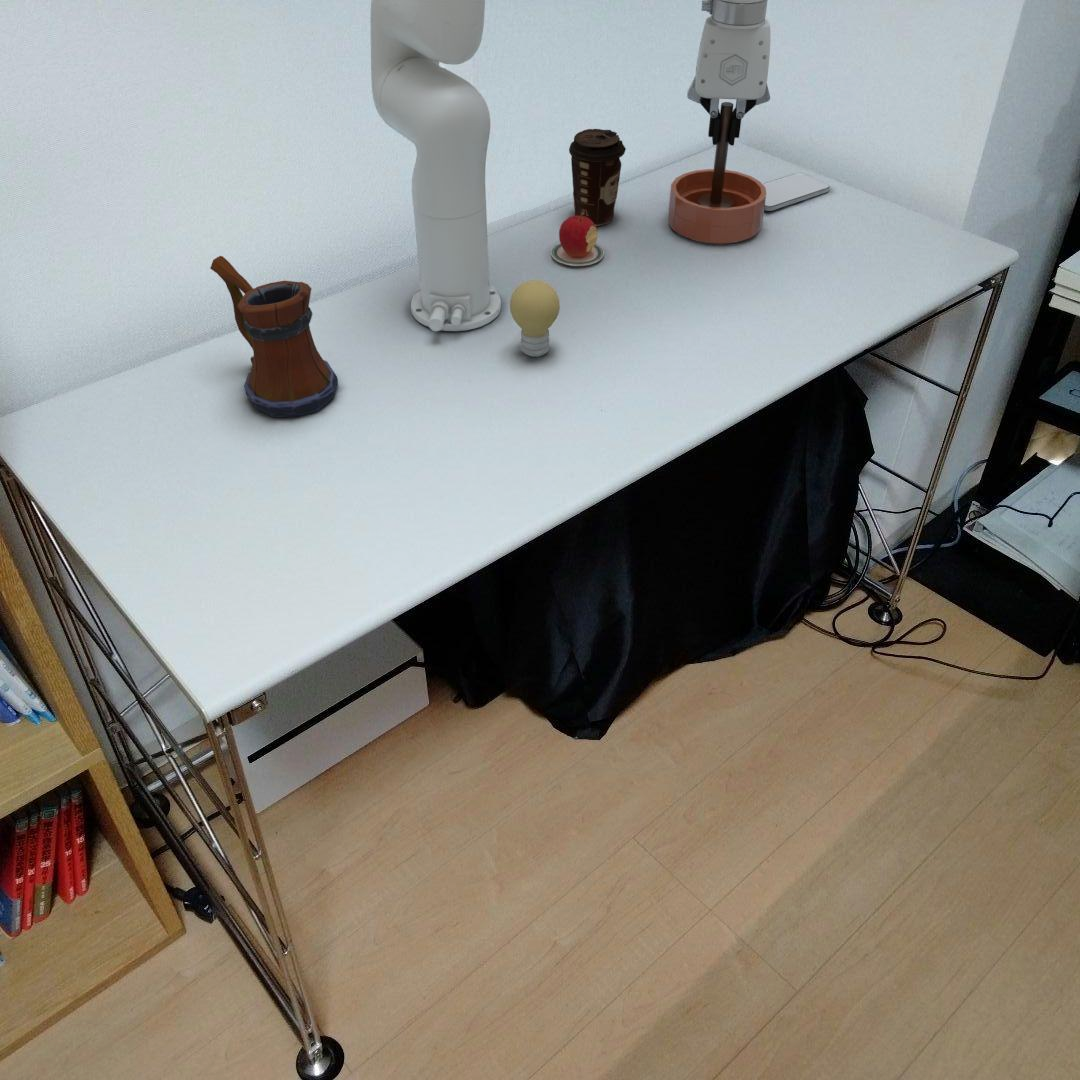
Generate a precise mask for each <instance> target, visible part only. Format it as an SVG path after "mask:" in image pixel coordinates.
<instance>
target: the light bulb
mask: <svg viewBox="0 0 1080 1080" xmlns="http://www.w3.org/2000/svg"><path fill="white" fill-rule="evenodd" d="M510 296H511V297H510V300H509V310H510V314H511V317H512V319H513V320H514V322H515V323H516V325H518V327H519V328H520V350H521V351H522V353H523V354H524V355H527V356H528V357H533V358H537V357H541V356H544V355H545V354H547V353H548V351H549V350H550V329H549V328H551V326H553V324H554V323H555V322H556V320H557V318H558V316H559V313H560V310H561V309H560V308H561V303H560V298H559V294H558V293H557V291H556V290H555V289H554V287H553V286H552V285H550V283H548V282H546V281H543V280H539V279H537V280H536V279H533V280H526V281H525V282H521V283H520V284H518V285H517V286H516V287H515V288H514V290H513V292H512V293H511V295H510Z"/></svg>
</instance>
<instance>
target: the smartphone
mask: <svg viewBox="0 0 1080 1080" xmlns="http://www.w3.org/2000/svg"><path fill="white" fill-rule="evenodd" d="M762 184H763V185H764V186H765V188H766V201H765V207H764V211H768V212H772V211H775V210H778V209H781V208H784V207H787V206H791V205H793V204H796V203H800V202H802V201H805V200H808V199H810V198H814V197H817V196H820V195H823V194H826V193H828V192H829V191H830V185H829V184H828V183H825V182H823V181H821V180H819V179H817V178H814V177H812V176H811V175H810V176H809V175H808V174H806V173H802V172H796V173H793V174H789V175H787V176H783V177H779V178H777V179H774V180H771V181H767V182H764V183H762Z"/></svg>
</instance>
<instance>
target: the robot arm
mask: <svg viewBox="0 0 1080 1080" xmlns="http://www.w3.org/2000/svg"><path fill="white" fill-rule="evenodd" d="M768 1H769V0H701V12H706V13H709V15H710V16H708V17H706V19H705V22H704V25H703V29H702V33H701V38H700V43H699V47H698V53H697V60H696V66H695V75H694V78H693V80H692V81H691V84H690V86H689V88H688V90H687V91H686V97H687V100H690V101H691V102H692V101H693V102H695V103H696V104H700V105H701V106H702V108H703V109H704V110H705V111H706V113H708V115H709V124H708V131H707V132H708V133H707V134H708V135H707V137H708V138H711V140H712V146H716V144H718V137H719V129H720V120H721V118H720V106H719V105H720V100H735V106H734V108H733V113H732V120H731V128H730V136H729V145H730V146H732V147H733V146H735V140H736V139H739V138H740V135H741V126H742V119H743V118H744V117H745V115H747V114H748V113H749V112H750V111H751V110H752V109H753V108H755V107H756V106H759V105H762V104H765V103H768V102H769V101H770V100H771V95H770V90H769V86H768V75H769V67H770V57H771V56H770V55H771V54H770V53H771V22H770V21H769V20H768V19H767V18H766V14H767V8H768ZM485 7H486V0H371V2H370V74H371V76H370V77H371V80H370V81H371V92H372V93H371V94H372V99H373V104H374V107H375V109H376V112H377V114H378V116H379V117H380V119H381V120H382V121H383V122H384V123H385V124H386V125H387V126H388V127H390V128H391V129H392V130H393V131H395V132H397V133H398V134H399V135H401V136H403V137H404V138H406V140H408V141H409V142H411V143H412V144H413V145H414V146H415V151H416V158H415V163H414V167H413V170H412V176H411V197H412V198H411V199H412V207H413V218H414V220H413V221H414V230H415V241H416V252H417V263H418V274H419V276H418V277H419V287H420V289H419V290H418V291H417V292H416V293H415V294H413V296H412V298H411V300H410V311H411V314H412V316H413V318H414V319H415V320H416V321H417V322H418V323H419V324H421V325H423V326H425V327H427V328H429V329H430V330H432V331H433V332H440V331H444V332H464V331H470V330H475V329H478V328H481V327H483V326H485V325H487V324H489V323H491V322H492V321H494V320H495V319H496V318H497V317H498V316H499V315H500V313H501V309H502V299H501V295H500V294H499V292H498V291H497V290H496V289H495V288H493V287H491V286H490V270H489V245H488V244H489V242H488V241H489V240H488V239H489V238H488V218H487V217H488V215H487V193H486V192H487V191H486V167H487V155H488V154H487V153H488V146H489V142H490V135H491V115H490V110H489V107H488V104H487V102H486V100H485V98H484V97H483V95H482V94H481V93H480V91H479V90H478V89H477V88H476V87H475V86H474V85H473V84H472V83H470V82H469V81H468V80H467V79H465V78H463V77H461V76H459V75H457V74H456V73H454V72H452V71H451V70H449V69H447V68H445V67H442V66H440V63H442V64H445V65H451V66H452V65H453V66H455V65H461V64H464V63H466V62H468V61H470V60H471V59H473V57H474V56H475V55H476V53H477V52H478V50H479V48H480V45H481V43H482V40H483V33H484V25H485Z"/></svg>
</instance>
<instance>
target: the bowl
mask: <svg viewBox="0 0 1080 1080" xmlns="http://www.w3.org/2000/svg"><path fill="white" fill-rule="evenodd" d="M713 170H714V168H705V169H698V170H693V171H689V172H684V173H682V174H681V175H679V176H676V177H675V179H674V180H673V181H672V182H671V184H670V192H669V204H668V215H667V223H668V225H669V226H670V228H671V229H672V230H673V231H674V232H676V233H677V234H679V235H681V236H682V237H685V238H688V239H690V240H693V241H696V242H700V243H705V244H712V245H715V244H716V245H723V244H724V245H725V244H732V243H738V242H742V241H745V240H748V239H751V238H753V237H754V236H755V235H756V234H759V232H760V230H761V228H762V226H763V220H764V213H765V210H764V207H765V201H766V188H765V186H764V185H763V184H764V183H762V181H760V180H758V179H757V178H755V177H753V176H752V175H749V174H746V173H742V172H740V171H736V170H729V169H725V177H724V185H723V193H722V195H726V196H728V197H730V198H731V199H732V200H733V207H729V208H720V207H709V206H703V205H699V204H697V203H698V198H699V197H701V196H702V195H705V194H711V187H712V179H713Z"/></svg>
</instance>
